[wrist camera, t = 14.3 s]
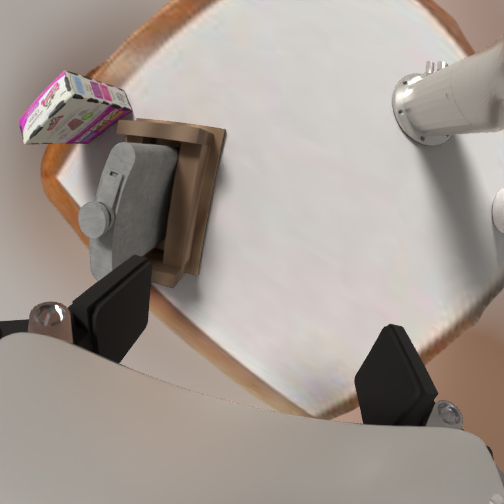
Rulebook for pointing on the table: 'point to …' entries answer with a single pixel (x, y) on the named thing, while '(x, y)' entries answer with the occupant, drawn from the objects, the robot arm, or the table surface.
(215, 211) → the table surface
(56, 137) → the candy bar box
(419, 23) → the table surface
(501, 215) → the white tall cylinder
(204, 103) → the table surface
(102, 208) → the hip flask
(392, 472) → the robot arm
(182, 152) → the brown rectangular open tray
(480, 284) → the table surface
